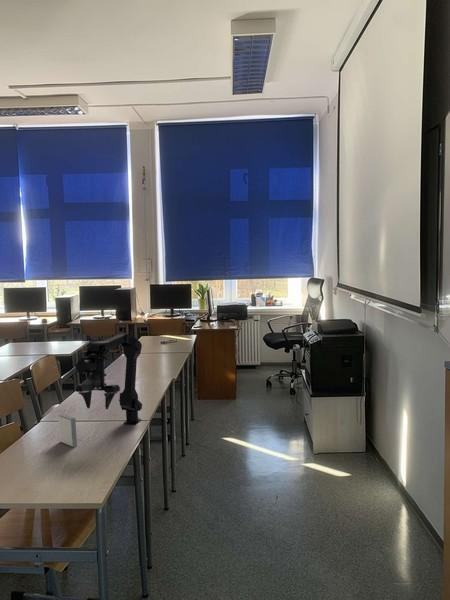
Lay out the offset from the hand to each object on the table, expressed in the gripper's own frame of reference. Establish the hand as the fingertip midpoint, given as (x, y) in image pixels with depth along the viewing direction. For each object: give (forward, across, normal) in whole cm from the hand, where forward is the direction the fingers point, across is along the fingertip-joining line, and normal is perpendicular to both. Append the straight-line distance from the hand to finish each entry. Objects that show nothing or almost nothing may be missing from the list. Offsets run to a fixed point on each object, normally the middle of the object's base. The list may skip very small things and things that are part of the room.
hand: (97, 408), depth 191 cm
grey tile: (+15, -13, -2) cm, 20 cm away
